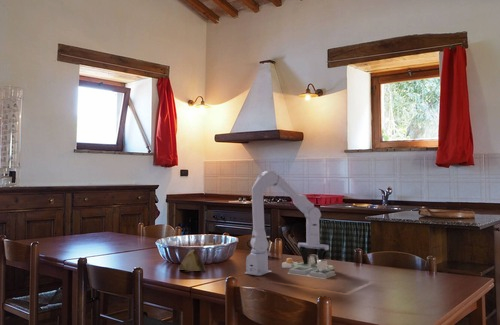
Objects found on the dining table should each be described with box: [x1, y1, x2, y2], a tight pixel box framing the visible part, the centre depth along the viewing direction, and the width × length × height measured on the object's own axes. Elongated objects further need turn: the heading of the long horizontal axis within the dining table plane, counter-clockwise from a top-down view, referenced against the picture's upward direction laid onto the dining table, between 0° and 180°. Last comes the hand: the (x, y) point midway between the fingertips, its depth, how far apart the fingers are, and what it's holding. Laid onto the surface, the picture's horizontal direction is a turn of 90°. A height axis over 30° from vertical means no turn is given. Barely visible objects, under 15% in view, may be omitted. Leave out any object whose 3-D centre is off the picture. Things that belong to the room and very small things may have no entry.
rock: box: [178, 248, 206, 272], centre depth 204 cm, size 11×9×10 cm
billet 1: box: [308, 253, 319, 268], centre depth 202 cm, size 4×4×6 cm
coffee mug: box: [246, 235, 271, 252], centre depth 241 cm, size 12×9×10 cm
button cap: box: [286, 257, 294, 264], centre depth 207 cm, size 3×3×3 cm
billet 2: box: [317, 258, 328, 274], centre depth 188 cm, size 4×4×6 cm
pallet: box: [287, 266, 337, 280], centre depth 191 cm, size 10×18×2 cm, turn 52°
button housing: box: [281, 261, 298, 269], centre depth 207 cm, size 5×5×2 cm
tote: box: [293, 261, 334, 271], centre depth 202 cm, size 8×15×2 cm, turn 52°
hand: (313, 265), depth 202 cm, fingers open, 7 cm apart
